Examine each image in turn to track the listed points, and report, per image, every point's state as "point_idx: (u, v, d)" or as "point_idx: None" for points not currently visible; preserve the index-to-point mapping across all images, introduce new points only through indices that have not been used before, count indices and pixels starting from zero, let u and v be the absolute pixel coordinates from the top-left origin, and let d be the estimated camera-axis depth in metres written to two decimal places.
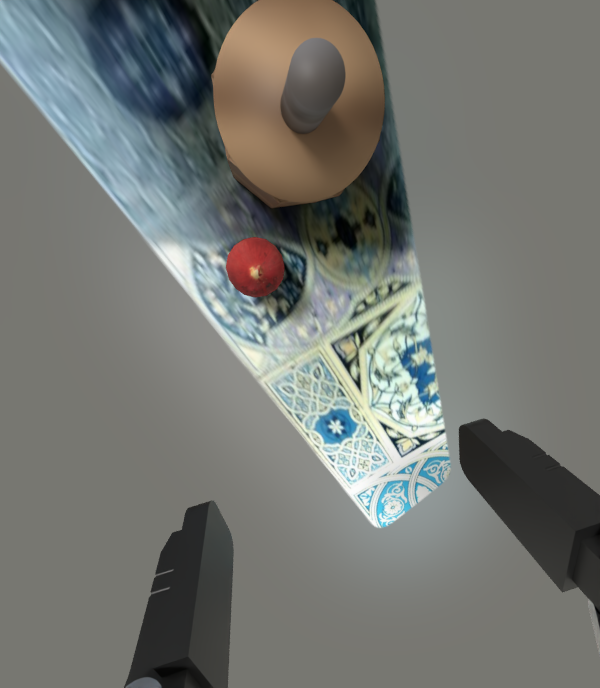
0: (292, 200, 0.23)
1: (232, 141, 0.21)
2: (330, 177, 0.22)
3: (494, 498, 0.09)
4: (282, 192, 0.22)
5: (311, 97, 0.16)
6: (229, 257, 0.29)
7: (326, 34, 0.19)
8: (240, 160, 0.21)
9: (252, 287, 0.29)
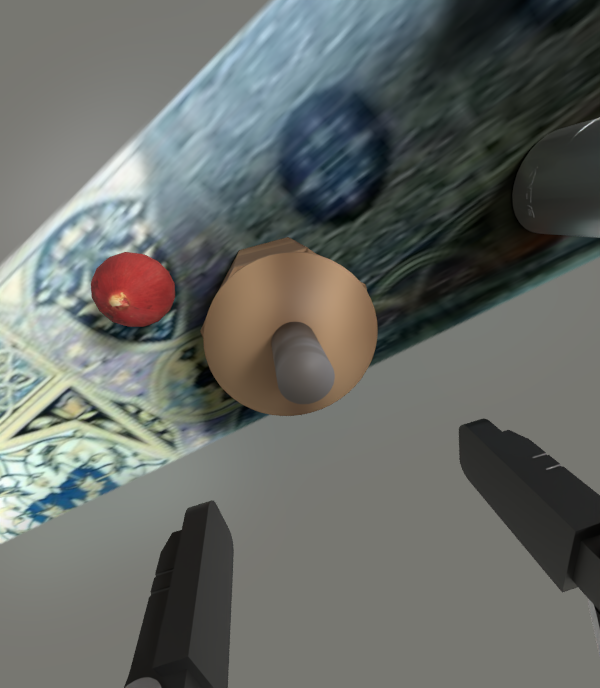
0: (204, 346, 0.20)
1: (249, 275, 0.18)
2: (237, 380, 0.21)
3: (494, 498, 0.09)
4: (210, 334, 0.19)
5: (287, 377, 0.16)
6: (136, 258, 0.23)
7: (351, 354, 0.21)
8: (232, 285, 0.18)
9: (98, 295, 0.22)
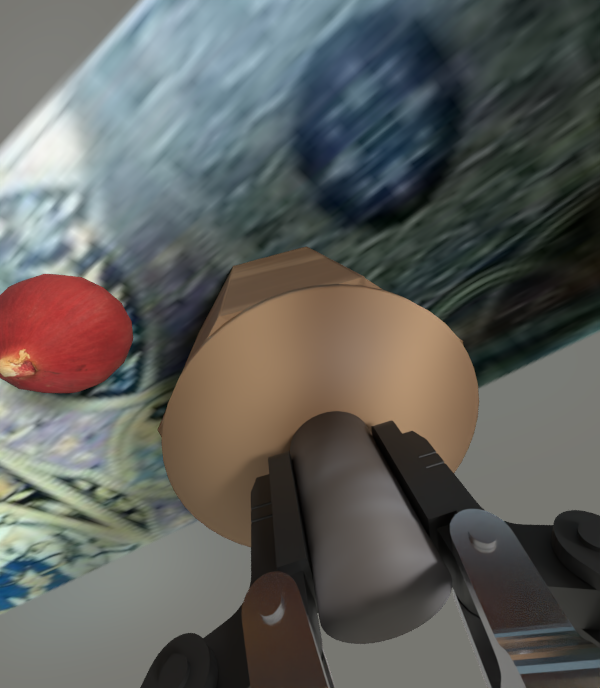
0: (165, 461, 0.10)
1: (250, 333, 0.09)
2: (228, 509, 0.12)
3: None
4: (175, 441, 0.10)
5: (343, 606, 0.06)
6: (58, 286, 0.14)
7: None
8: (216, 353, 0.09)
9: None
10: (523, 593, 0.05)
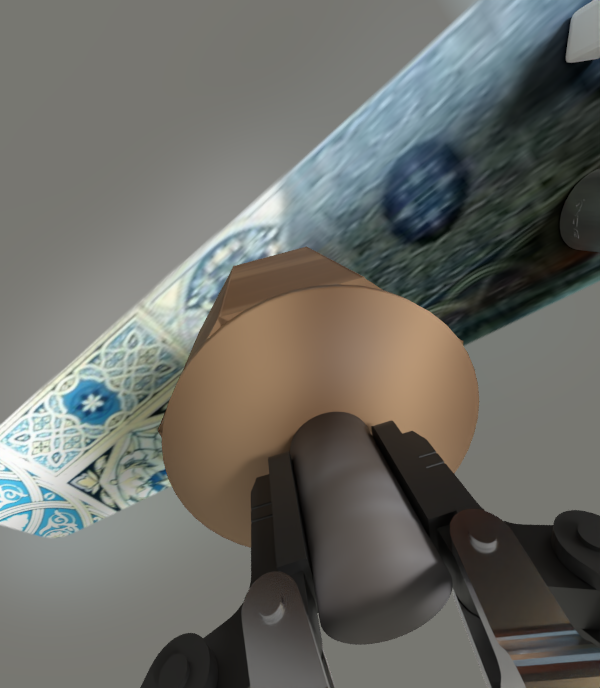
0: (165, 461, 0.10)
1: (250, 334, 0.09)
2: (228, 510, 0.12)
3: None
4: (175, 441, 0.10)
5: (343, 607, 0.06)
6: None
7: None
8: (216, 353, 0.09)
9: None
10: (522, 593, 0.05)
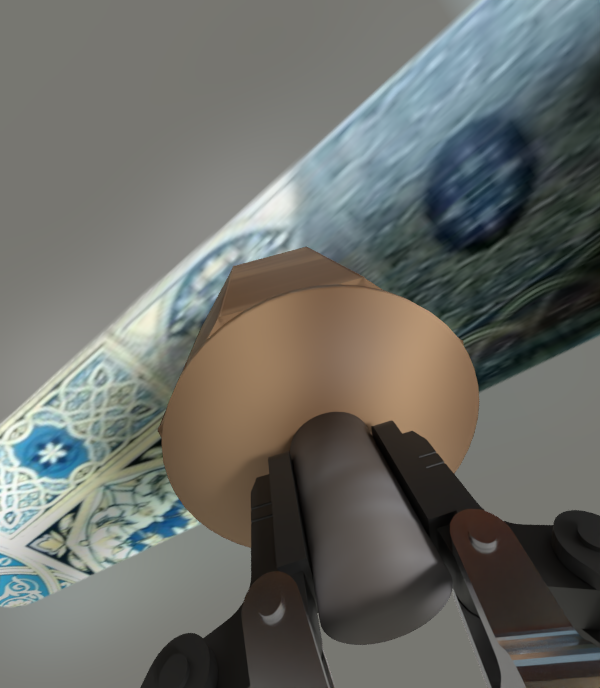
0: (165, 461, 0.10)
1: (250, 334, 0.09)
2: (228, 510, 0.12)
3: None
4: (175, 441, 0.10)
5: (343, 607, 0.06)
6: None
7: None
8: (216, 353, 0.09)
9: None
10: (522, 593, 0.05)
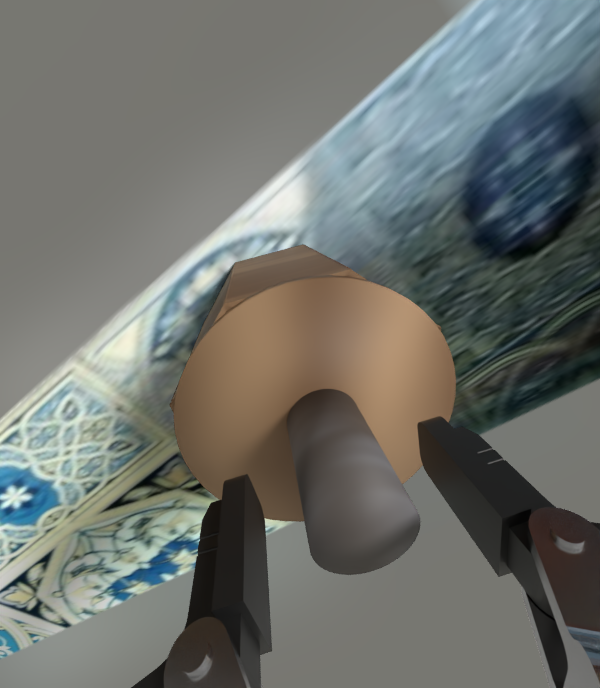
0: (176, 432, 0.12)
1: (252, 318, 0.10)
2: None
3: (446, 491, 0.09)
4: (185, 414, 0.11)
5: (329, 537, 0.08)
6: None
7: (411, 432, 0.14)
8: (222, 335, 0.11)
9: None
10: None
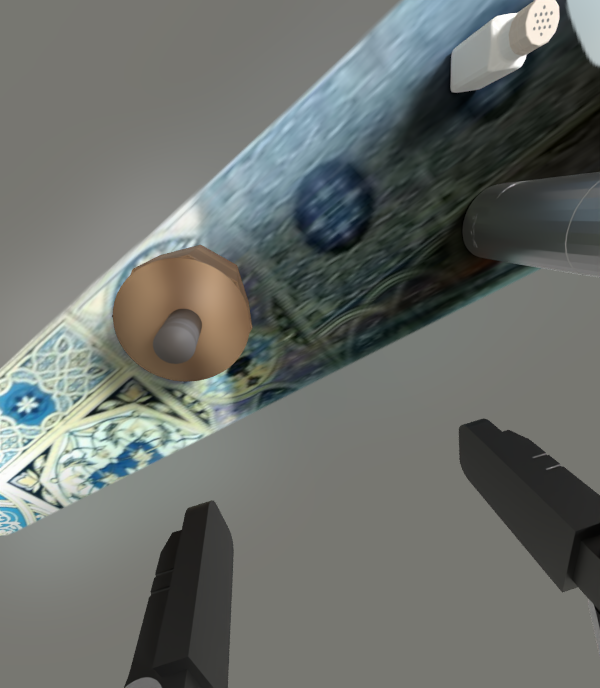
0: (115, 327, 0.27)
1: (143, 274, 0.25)
2: (143, 353, 0.28)
3: (494, 498, 0.09)
4: (118, 318, 0.26)
5: (159, 344, 0.23)
6: None
7: (231, 333, 0.29)
8: (131, 282, 0.25)
9: None
10: None
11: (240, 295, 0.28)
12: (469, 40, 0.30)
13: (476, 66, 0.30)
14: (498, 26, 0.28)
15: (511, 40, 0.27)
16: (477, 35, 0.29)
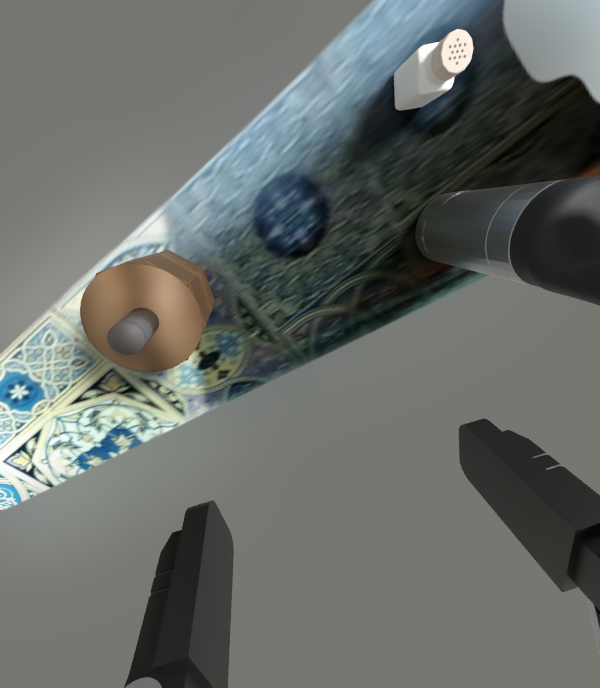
0: (82, 323, 0.31)
1: (105, 278, 0.29)
2: (108, 346, 0.32)
3: (494, 498, 0.09)
4: (85, 315, 0.30)
5: (113, 338, 0.27)
6: None
7: (185, 329, 0.33)
8: (95, 284, 0.29)
9: None
10: None
11: (191, 296, 0.31)
12: (404, 65, 0.33)
13: (410, 88, 0.33)
14: (424, 54, 0.30)
15: (433, 67, 0.30)
16: (409, 61, 0.32)
